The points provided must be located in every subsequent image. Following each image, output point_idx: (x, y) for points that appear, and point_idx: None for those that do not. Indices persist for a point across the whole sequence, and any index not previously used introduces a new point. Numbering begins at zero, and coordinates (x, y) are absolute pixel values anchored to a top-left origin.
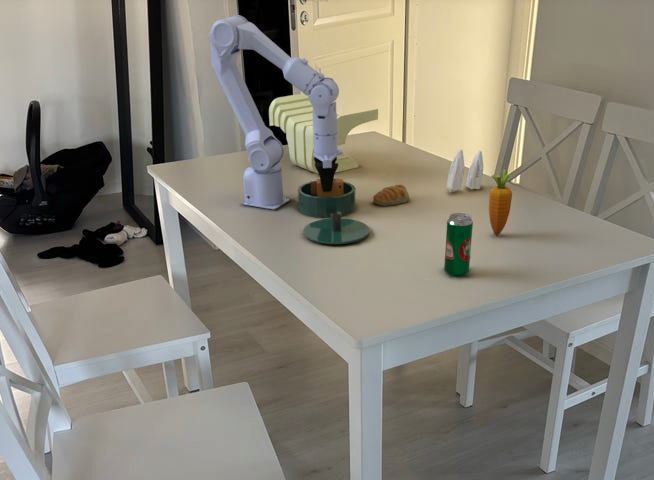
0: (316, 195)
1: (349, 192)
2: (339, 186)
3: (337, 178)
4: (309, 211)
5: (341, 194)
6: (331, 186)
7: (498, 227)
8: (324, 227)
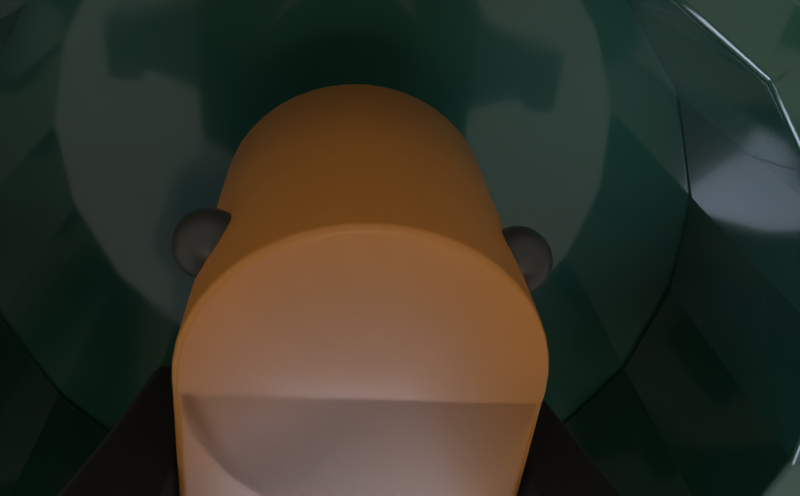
0: (5, 377)
1: (743, 38)
2: (541, 279)
3: (185, 348)
4: None
5: (465, 145)
6: (573, 448)
7: None
8: None
